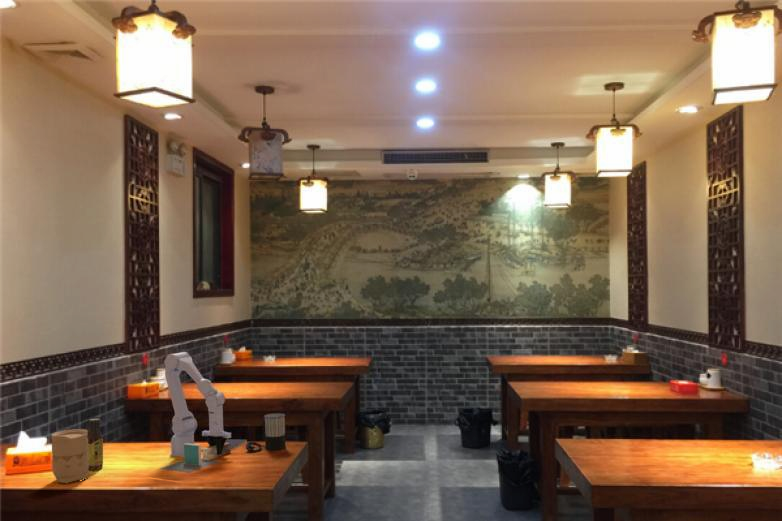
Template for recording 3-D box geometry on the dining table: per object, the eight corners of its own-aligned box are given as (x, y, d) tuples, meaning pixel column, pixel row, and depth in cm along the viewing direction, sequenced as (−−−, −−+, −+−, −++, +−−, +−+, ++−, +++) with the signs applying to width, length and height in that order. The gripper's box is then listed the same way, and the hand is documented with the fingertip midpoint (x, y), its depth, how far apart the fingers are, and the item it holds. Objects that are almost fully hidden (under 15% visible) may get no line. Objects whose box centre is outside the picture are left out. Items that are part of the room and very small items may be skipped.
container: (95, 477, 269) (94, 430, 269) (65, 486, 258) (64, 437, 259) (75, 473, 275) (74, 428, 276) (45, 482, 264) (44, 434, 265)
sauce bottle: (97, 470, 278) (95, 421, 279) (83, 470, 280) (82, 421, 280) (106, 466, 285) (105, 417, 285) (93, 466, 286) (92, 417, 287)
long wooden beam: (226, 453, 300) (226, 442, 300) (230, 453, 299) (230, 443, 299) (202, 459, 288) (202, 448, 288) (207, 460, 286) (207, 449, 287)
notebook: (222, 442, 324) (200, 453, 303) (222, 439, 324) (200, 450, 303) (247, 442, 321) (228, 454, 300) (247, 439, 321) (227, 450, 300)
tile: (186, 462, 283) (186, 443, 284) (201, 464, 280) (200, 444, 280) (184, 463, 282) (183, 444, 282) (198, 465, 278) (198, 445, 278)
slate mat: (159, 470, 276) (159, 468, 276) (192, 459, 292) (192, 457, 292) (189, 474, 268) (189, 472, 268) (221, 462, 284) (221, 461, 284)
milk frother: (290, 447, 306) (289, 414, 306) (265, 456, 293) (264, 420, 293) (267, 444, 314) (266, 411, 314) (241, 452, 301) (240, 418, 301)
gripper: (196, 422, 294) (197, 454, 293) (222, 424, 287) (223, 457, 286) (208, 419, 300) (209, 450, 299) (234, 421, 293) (235, 453, 292)
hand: (216, 454), depth 293 cm, fingers closed on long wooden beam, 2 cm apart
